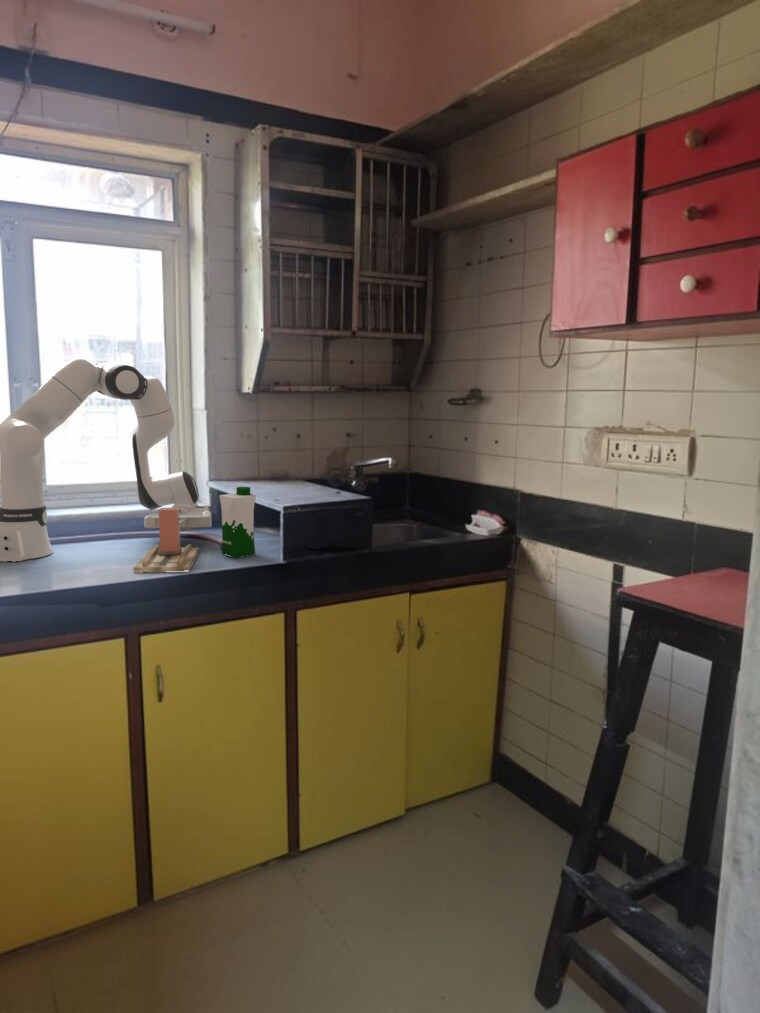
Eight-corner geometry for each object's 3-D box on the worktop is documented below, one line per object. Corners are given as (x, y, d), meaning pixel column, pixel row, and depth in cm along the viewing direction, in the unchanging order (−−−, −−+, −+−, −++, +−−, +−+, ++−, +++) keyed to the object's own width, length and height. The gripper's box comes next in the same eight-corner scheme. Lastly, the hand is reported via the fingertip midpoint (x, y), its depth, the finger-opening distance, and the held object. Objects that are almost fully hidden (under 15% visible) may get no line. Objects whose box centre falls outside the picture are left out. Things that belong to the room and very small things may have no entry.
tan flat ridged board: (134, 573, 186) (133, 563, 186) (150, 552, 210) (150, 544, 209) (188, 572, 188) (188, 562, 188) (198, 552, 212) (198, 543, 211)
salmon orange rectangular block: (158, 554, 200) (156, 510, 198) (161, 550, 205) (159, 507, 203) (179, 554, 201) (178, 510, 199) (182, 550, 206) (180, 507, 204)
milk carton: (259, 554, 210) (258, 488, 207) (233, 559, 203) (232, 491, 200) (242, 550, 216) (241, 485, 213) (217, 554, 210) (215, 487, 206)
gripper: (147, 507, 223) (139, 515, 210) (213, 507, 226) (209, 514, 213) (148, 527, 224) (139, 536, 211) (213, 526, 227) (209, 535, 214)
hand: (175, 525), depth 212 cm, fingers closed
